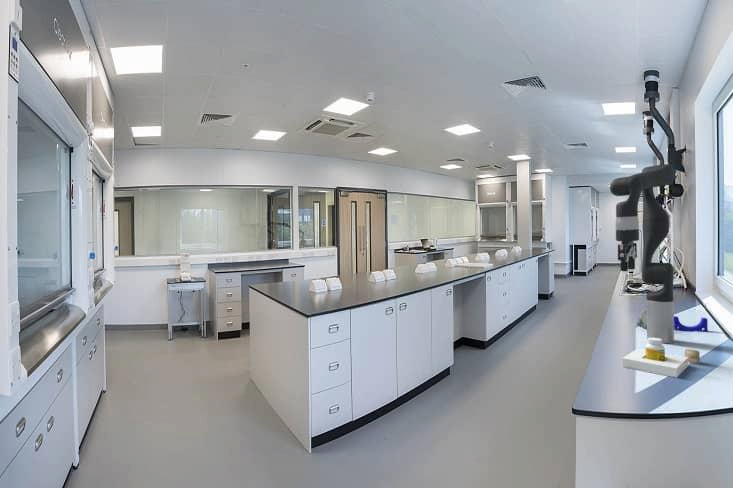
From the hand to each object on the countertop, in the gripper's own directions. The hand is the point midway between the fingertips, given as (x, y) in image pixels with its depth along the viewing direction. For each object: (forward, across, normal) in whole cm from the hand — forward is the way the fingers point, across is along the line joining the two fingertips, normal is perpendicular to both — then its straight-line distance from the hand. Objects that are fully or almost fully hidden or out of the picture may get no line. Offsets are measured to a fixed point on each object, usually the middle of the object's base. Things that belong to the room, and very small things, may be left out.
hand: (627, 270), depth 152 cm
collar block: (+32, +13, +11) cm, 36 cm away
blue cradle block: (+33, -55, +9) cm, 64 cm away
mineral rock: (+32, -45, -5) cm, 56 cm away
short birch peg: (+32, -1, +19) cm, 37 cm away
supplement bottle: (+32, +13, +11) cm, 36 cm away
